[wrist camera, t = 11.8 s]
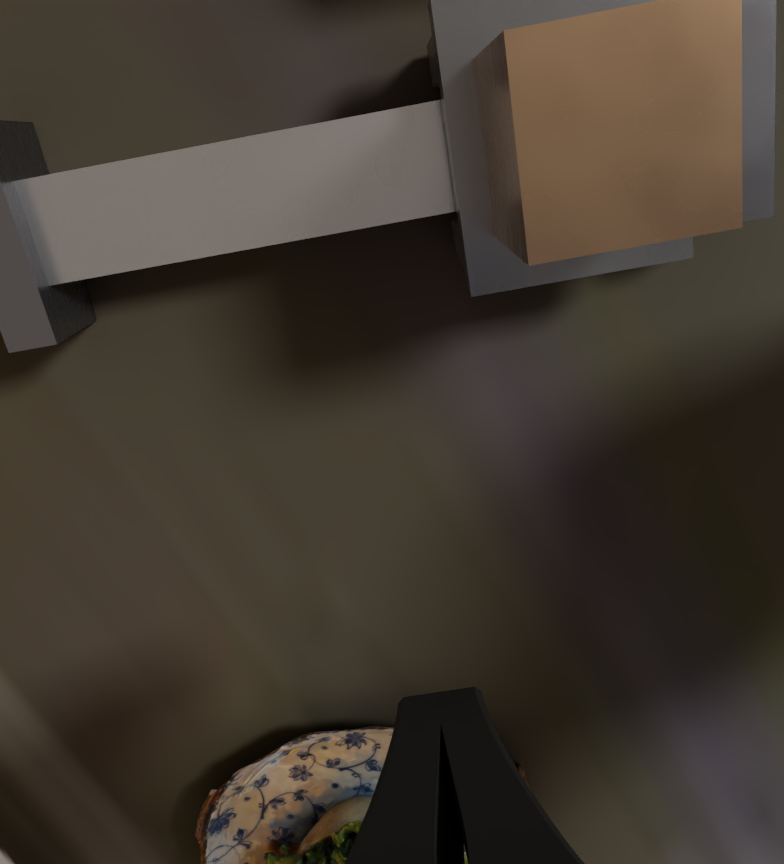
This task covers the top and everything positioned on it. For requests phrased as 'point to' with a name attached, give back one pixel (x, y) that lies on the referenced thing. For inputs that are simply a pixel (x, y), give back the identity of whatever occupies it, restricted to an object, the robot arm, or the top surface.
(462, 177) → the carriage
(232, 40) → the top surface
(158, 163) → the rail
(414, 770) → the robot arm
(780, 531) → the top surface
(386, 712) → the top surface
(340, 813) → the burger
